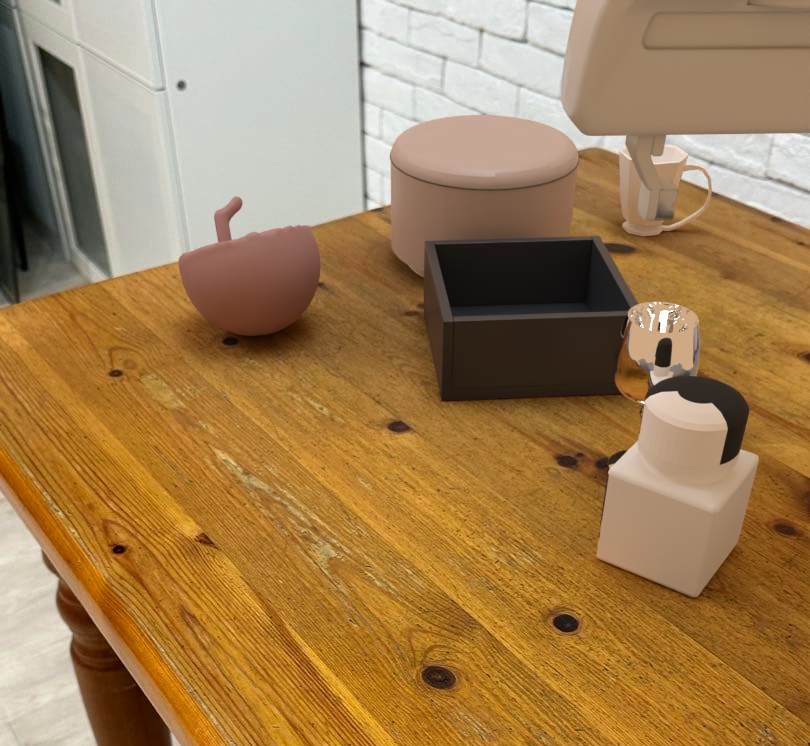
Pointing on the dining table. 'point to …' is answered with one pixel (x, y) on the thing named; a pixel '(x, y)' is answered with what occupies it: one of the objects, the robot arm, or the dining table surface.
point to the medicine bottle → (680, 486)
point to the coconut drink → (252, 276)
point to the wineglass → (654, 350)
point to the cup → (666, 167)
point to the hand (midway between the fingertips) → (742, 216)
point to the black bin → (523, 316)
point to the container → (479, 182)
